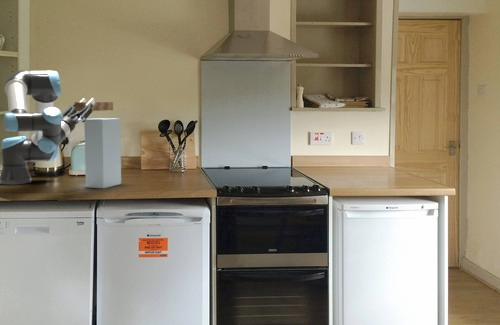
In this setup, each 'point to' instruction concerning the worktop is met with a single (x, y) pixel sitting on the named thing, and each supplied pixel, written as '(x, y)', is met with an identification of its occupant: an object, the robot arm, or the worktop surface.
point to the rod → (95, 106)
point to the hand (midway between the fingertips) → (89, 100)
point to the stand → (102, 152)
